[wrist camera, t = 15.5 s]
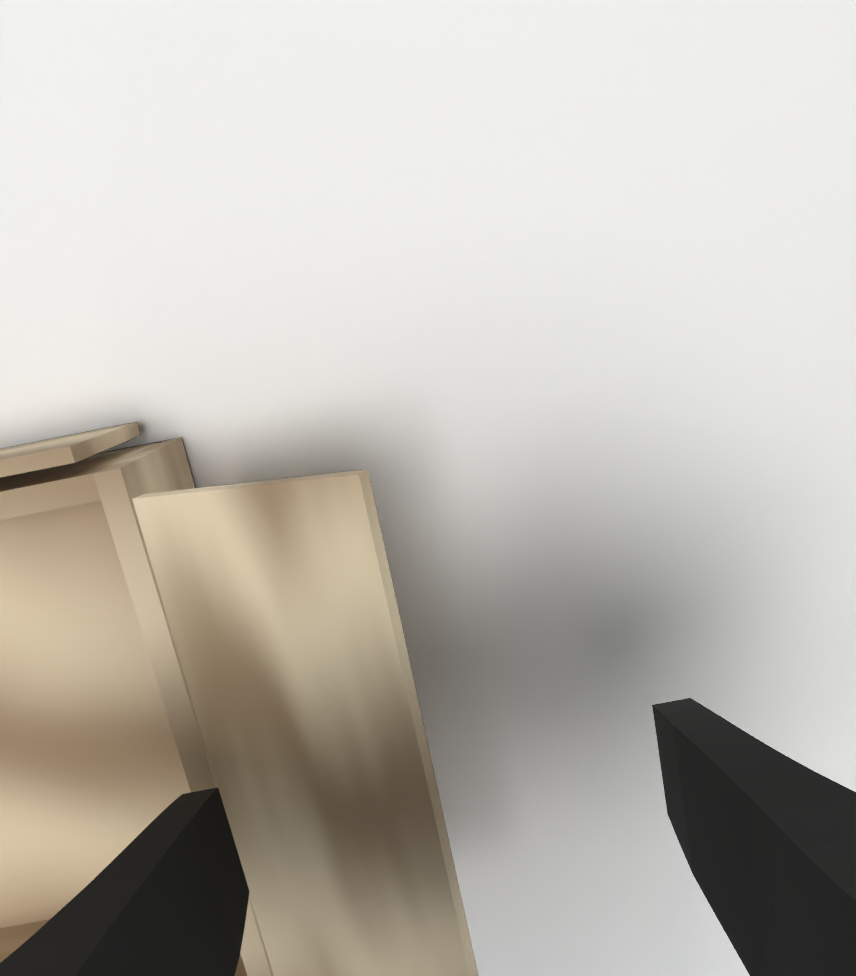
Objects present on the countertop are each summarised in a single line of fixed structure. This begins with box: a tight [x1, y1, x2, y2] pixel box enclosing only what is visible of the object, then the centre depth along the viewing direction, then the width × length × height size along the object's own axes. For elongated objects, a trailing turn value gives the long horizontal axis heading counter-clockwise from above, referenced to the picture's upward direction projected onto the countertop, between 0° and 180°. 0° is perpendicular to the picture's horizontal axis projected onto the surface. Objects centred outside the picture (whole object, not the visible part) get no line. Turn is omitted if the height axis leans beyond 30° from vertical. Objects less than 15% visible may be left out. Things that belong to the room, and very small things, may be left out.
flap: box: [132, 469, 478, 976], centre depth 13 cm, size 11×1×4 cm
